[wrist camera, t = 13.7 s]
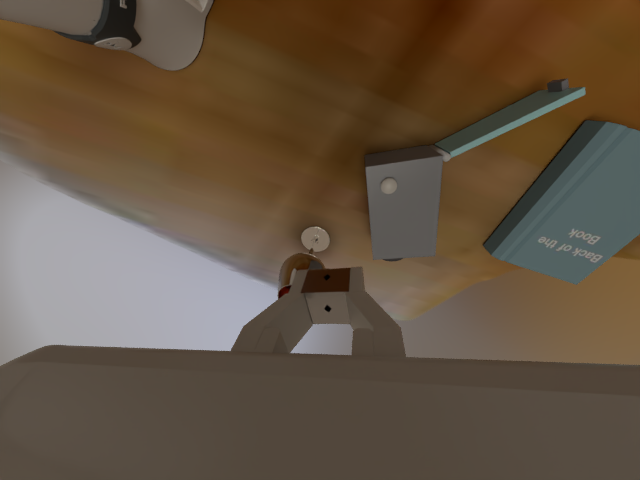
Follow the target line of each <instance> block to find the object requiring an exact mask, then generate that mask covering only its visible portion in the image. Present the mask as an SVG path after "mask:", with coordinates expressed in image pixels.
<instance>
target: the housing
mask: <svg viewBox="0 0 640 480" xmlns="http://www.w3.org/2000/svg"><path fill="white" fill-rule="evenodd" d="M442 164H443V155H441V154H440V153H438V152H436V151H435V150H433V149H432V148H430V147H428V146H427V145H424V146H418V147H411V148H405V149H399V150H393V151H386V152H380V153H374V154H368V155H365V167H366V179H367V191H368V204H369V216H370V228H371V240H372V252H373V260H377V259H383V260H385V261H398V260H401V259H403V258H410V257H427V256H435V251H436V238H437V226H438V213H439V201H440V188H441V176H442Z"/></svg>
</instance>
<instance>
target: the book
mask: <svg viewBox="0 0 640 480" xmlns="http://www.w3.org/2000/svg"><path fill="white" fill-rule="evenodd" d="M639 234H640V131H638V130H635V129H631V128H627V127H626V126H623V125H620V124H615V123H610V122H602V121H589V120H586V121H585V122H584V123H583V124H582V126H581V127H580V128H579V129H578V131H577V132H576V133H575V134H574V135H573V137H572V138H571V139H570V140H569V142H568V143H567V144H566V145H565V146H564V148H563V149H562V150H561V151H560V153H559V154H558V155H557V156H556V157H555V159H554V160H553V161H552V162H551V163H550V165H549V166H548V167H547V168H546V170H545V171H544V172H543V173H542V174H541V176H540V177H539V178H538V179H537V181H536V182H535V183H534V184H533V185H532V187H531V188H530V189H529V190H528V191H527V193H526V194H525V195H524V196H523V198H522V199H521V200H520V201H519V202H518V204H517V205H516V206H515V207H514V209H513V210H512V211H511V212H510V213H509V215H508V216H507V217H506V218H505V220H504V221H503V222H502V223H501V224H500V226H499V227H498V228H497V229H496V230H495V232H494V233H493V234H492V235H491V237H490V238H489V239H488V240H487V241H486V243H485V244H484V245H483V246H484V247H485V249H486V250H487V251H488V252H489V253H490V254H491V255H492V256H494V257H495V258H497V259H499V260H502V261H506V262H508V263H511V264H514V265H517V266H520V267H524V268H527V269H530V270H533V271H536V272H540V273H542V274H545V275H549V276H552V277H555V278H558V279H561V280H564V281H567V282H570V283H573V284H578V283H579V282H580V281H582V280H583V279H584V278H585V277H587V276H588V275H589V274H590V273H592V272H593V271H594V270H595V269H597V268H598V267H599V266H600V265H602V264H603V263H604V262H605V261H607V260H608V259H609V258H610V257H612V256H613V255H614V254H615V253H617V252H618V251H619V250H620V249H622V248H623V247H624V246H625V245H627V244H628V243H629V242H630V241H632V240H633V239H634V238H635V237H636V236H638V235H639Z"/></svg>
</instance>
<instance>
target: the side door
mask: <svg viewBox="0 0 640 480" xmlns="http://www.w3.org/2000/svg"><path fill="white" fill-rule="evenodd" d="M547 86H548V90H539V91H537V92H535V93H533V94H531V95H529V96H527V97H525V98H524V99H522V100H520V101H518V102H516V103H514V104H512V105H510V106H508V107H506V108H504V109H502V110H500V111H498V112H496V113H494V114H492V115H490V116H488V117H486V118H484V119H482V120H480V121H478V122H476V123H474V124H472V125H470V126H469V127H467V128H465V129H463V130H461V131H459V132H457V133H455V134H453V135H451V136H449V137H447V138H445V139H443V140H441V141H439V142H437V143H435V146H434V145H429V146H428V147H430V148H432V149H433V150H435V151H436V152H438V153H440V154H441V155H443V161H445V162H447V161H449V160H450V159H451V158H452V157H454V156H456V155H459V154H461V153H463V152H465V151H467V150H469V149H471V148H473V147H475V146H478V145H480V144H482V143H484V142H486V141H488V140H490V139H492V138H494V137H496V136H499V135H501V134H503V133H505V132H507V131H509V130H511V129H513V128H515V127H518V126H520V125H522V124H524V123H526V122H528V121H530V120H532V119H534V118H537V117H539V116H541V115H543V114H545V113H547V112H549V111H551V110H553V109H556V108H558V107H560V106H562V105H564V104H566V103H568V102H570V101H572V100H575V99H577V98H579V97H581V96H583V95H585V87H578V88H569V86H568V79H560V80H553V81H551V82H549V83H547Z"/></svg>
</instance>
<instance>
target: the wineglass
mask: <svg viewBox="0 0 640 480" xmlns="http://www.w3.org/2000/svg"><path fill="white" fill-rule="evenodd" d="M301 240H302V243H303V245H304V246H305V247H306V248H307V249H309V250H310V251H309V254H308V253H298V254H294V255H292V256H290V257H289V258H287V259H286V260H285V262H284V263H283V265H282V267H281V269H280V274H279V283H278V299H279V298H281V297H282V296H283V295H284V294H288V293H289V291H290V288H291V286H292V283H293V280H294V278H295V275H296V273H297V271H298V270H309V269H326V268H325V266H324V264H323V263H322V262H321V260H320V259H318V258H317V257H316V256H314V255H312V254H313V251H314V252H319V251H323V250H325V249H326V248H327V247H328V246H329V243H330V237H329V235H328V233H327V232H326V231H325V230H324V229H322V228H320V227H316V226H312V227H309V228H307V229H305V230H304V231H303V233H302V236H301Z"/></svg>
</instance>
